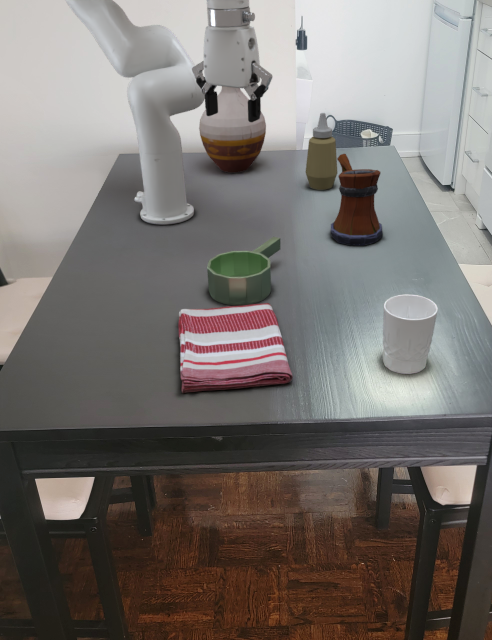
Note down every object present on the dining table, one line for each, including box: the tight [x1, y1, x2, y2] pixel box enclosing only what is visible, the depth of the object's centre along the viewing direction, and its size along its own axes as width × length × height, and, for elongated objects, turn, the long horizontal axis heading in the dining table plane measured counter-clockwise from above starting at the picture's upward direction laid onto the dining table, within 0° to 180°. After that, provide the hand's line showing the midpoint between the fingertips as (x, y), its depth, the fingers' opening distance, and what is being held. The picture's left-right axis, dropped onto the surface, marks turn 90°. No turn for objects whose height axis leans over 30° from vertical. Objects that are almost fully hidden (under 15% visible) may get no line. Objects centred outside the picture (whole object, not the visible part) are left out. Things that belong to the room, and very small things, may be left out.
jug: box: [198, 86, 267, 174], centre depth 182 cm, size 20×18×30 cm
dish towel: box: [178, 302, 294, 394], centre depth 112 cm, size 17×23×3 cm
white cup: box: [382, 293, 439, 375], centre depth 106 cm, size 8×8×10 cm
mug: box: [330, 153, 384, 247], centre depth 148 cm, size 18×12×15 cm, turn 11°
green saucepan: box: [206, 236, 281, 306], centre depth 131 cm, size 20×12×6 cm, turn 148°
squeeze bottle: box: [305, 112, 338, 191], centre depth 171 cm, size 8×8×18 cm
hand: (232, 117), depth 133 cm, fingers open, 9 cm apart
